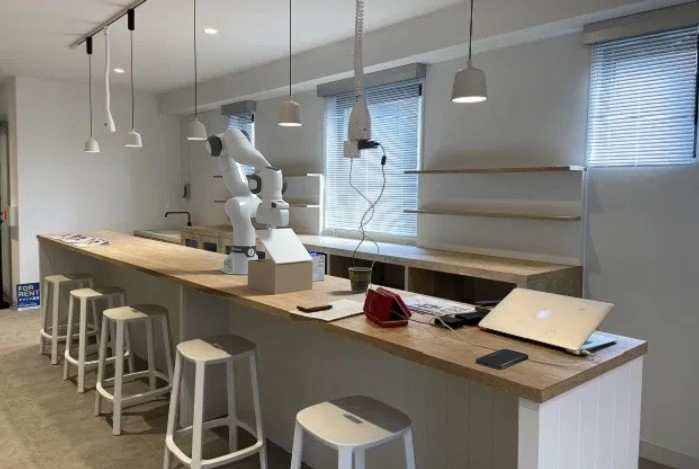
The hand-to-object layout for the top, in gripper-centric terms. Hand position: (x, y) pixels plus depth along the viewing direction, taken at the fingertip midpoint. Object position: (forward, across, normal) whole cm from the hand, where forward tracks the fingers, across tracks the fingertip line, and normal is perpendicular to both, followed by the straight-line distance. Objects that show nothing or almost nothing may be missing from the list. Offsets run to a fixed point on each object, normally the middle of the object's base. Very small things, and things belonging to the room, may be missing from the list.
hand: (271, 234), depth 240 cm
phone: (+21, +124, -14) cm, 127 cm away
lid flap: (+4, +9, 0) cm, 10 cm away
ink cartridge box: (+23, 0, +25) cm, 34 cm away
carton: (+23, +7, 0) cm, 24 cm away
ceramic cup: (+23, +34, +21) cm, 46 cm away
